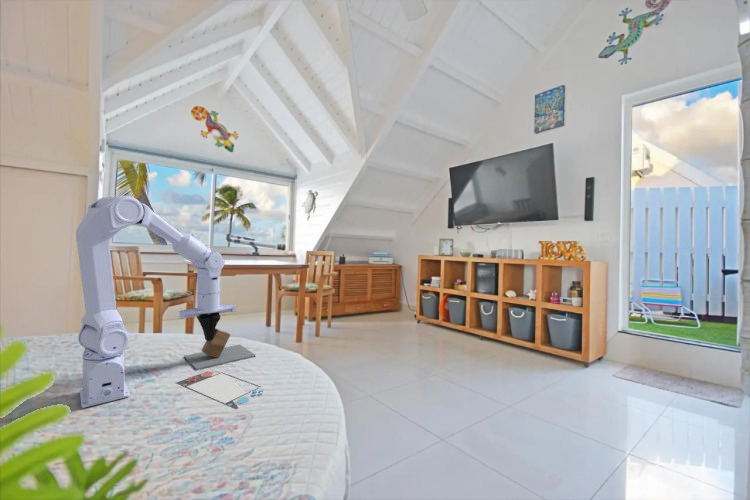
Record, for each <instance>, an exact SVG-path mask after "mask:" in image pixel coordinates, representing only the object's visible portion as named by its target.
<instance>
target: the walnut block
mask: <svg viewBox="0 0 750 500" xmlns="http://www.w3.org/2000/svg"><path fill="white" fill-rule="evenodd" d="M230 336H231V333H229V332H228V331H225V330H222V329H220V328H216V327H215V330H214V333H213V336H212V340H210V341H206V340H205V343H204V345H203V346H202V348H201V351H200V352H204V353H205V354H206V355H210V356H213V357H217V358H219V357H220V355H221V353H222V351H223V349H224V348H225V347H226V344H227V343H228V341H229V339H230V338H231V337H230Z"/></svg>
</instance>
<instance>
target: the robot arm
mask: <svg viewBox="0 0 750 500" xmlns="http://www.w3.org/2000/svg"><path fill="white" fill-rule="evenodd" d="M130 226H136V227H137V226H138V227H143V228H146V229H147V230H149V231H150V232H153V234H155V235H157V236H159V237H160V238H162V239H164V240H166V241H167V242H168V243H170V244H171V245H172V246H171V247H172V250H173V251H174V252H175V253H176V254H178V255H179V256H182V257H183V258H185V259H186V260H188V261H189V262H190V263H192V265H193V267H194V268H195V269H196V270H197V271H196V272H197V276H196V277H197V278H196V279H197V280H196V281H197V283H196V285H197V292H196V294H197V295H196V297H197V298H196V299H197V302H196V303H197V304H196V305H197V306H196V307H193V308H188V309H184V310H183V309H182V310H179V311H178V318H179V319H180V320H184V319H187V318H196V319H197V321H198V322H199V324H200V327H201V329H202V331H203V335H204V339H205V342H206V341H210V340H212V336H213V333H214V330H215V328H216V327H217V326H218V323H219V321H220V320H221V315H220V314H225V313H230V312H231V313H236V310H237V309H236V306H237V305H236V304H221V303H220V302H221V299H220V298H221V297H220V295H221V293H220V291H221V286H220V285H221V280H220V279H221V275H222V270H223V268H224V266H225V263H226V260H224V258H223V256H222V254H221V253H220V252H219V251H217V250H216V251H215V250H212V249H211V246H209V245H207V244H204V243H203V242H201V241H200V240H199V239H198V236H197V235H196V234H195V233H192V234H191V233H181V232H180V231H178V230H177V229H176V227H175V228H174V226H172V225H171V224H170V223H168V222H167V221H166V220H165V219H163V218H162V217H161V216H159V214H157V213H156V212H154V211H153V209H151V208H150V207H149V205H147V204H145V203H143V202H142V203H141V202H140V201H139V200H138V199H137V198H135V197H133V196H131V195H121V196H104V197H101V198H99V199H97V200H96V201H94V202H92V203H91V204H89V205H88V207H87V212H86V213H85V215H84V217H83V219H82V220H81V222H80V223H79V224H78V227H77V228H76V231H75V237H76V238H75V239H76V246H77V253H78V254H77V255H78V260H79V261H78V262H79V263H78V264H79V270H80V276H81V277H80V278H81V286H82V293H83V301H84V309H85V310H84V311H85V313H84V316H82V318H81V328H80V331H79V333H78V335H77V340H78V343H79V344H80V346H82V347H83V348H84V350H83V352H82V389H80V390H79V394H80V395H79V396H80V397H79V398H80V405H81V408H82V409H85V408H89V407H92V406H97V405H101V404H104V403H105V404H106V403H108V402H112V401H117V400H121V399H124V398H128V397H130V396H131V393H130V390H129V388H128V386H127V383H126V376H125V367H126V365H125V362H126V361H125V350H126V349H127V348H128V346H129V343H130V341H131V340H130V339H131V336H130V333H129V331H127V329H126V328H125V325H124V321H123V318H122V316H121V315H120V313H119V312H118V310H117V302H116V292H115V284H114V277H113V268H112V259H111V257H112V256H111V248H110V239H112V238H113V237H114V236H115V235H116V234H117V233H118V232H120V231H121V230H123V229H126V228H128V227H130Z"/></svg>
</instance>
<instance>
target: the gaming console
mask: <svg viewBox="0 0 750 500" xmlns="http://www.w3.org/2000/svg"><path fill="white" fill-rule="evenodd" d="M233 378H234V379H237V380H240V381H242V382H245V383H248V384H250V383H251V382H249V381H246V380H244V379H241V378H238V377H235V376H232V375H230V374H227V373H225V372H220V371H217V374H215V372H214V371H208V370H207V371H204V372H201V373H198V374H196V375H193V376H190V377H187V378H186V379H182V380H179V381H177V382H175V384H177V385H179V386H182V387H184V388H186V389H188V390H190V391H192V392H194V393H197V394H199V395H201V396H204V397H207V398H209V399H211V400H213V401H216V402H217V403H220V404H222V405H225V406H227V407H230V408H231V409H234V410H238V409H239V406H238V405H246V404H248V403H250V402H251V398H250V397H245V395H248V394H249V393H252V394H251V397H256V396H257V393H258V396H259V395H261V396H263V393H264V389H259V387H260V388H262V386H260V385H257V384H254V383H251V384H250V385H254V386H257V388H254V389H252V390H250V391H248V392H247V393H246V391H244V389H243V388H241V386H240V385H239V384H238V383H236V381H235V380H234V379H233ZM258 389H259V391H258ZM251 391H252V392H251ZM260 392H262V393H260Z"/></svg>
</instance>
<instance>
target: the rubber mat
mask: <svg viewBox="0 0 750 500" xmlns="http://www.w3.org/2000/svg"><path fill="white" fill-rule="evenodd" d="M255 357H256V354H254V353H253V352H252V351H251V350H249V349H247V348H246V347H244V346H243V345H241V344H236V345H235V344H234V345H232V346H231V345H230V346H225V347H224V349H223V351H222V353H221V355H220V357H219V358H217V357H213V356H210V355H206V354H205V353H204V352H202V351H200V352H197V353H195V352H194V353H192V354H186V355H184V358H185V359H186V360H187V362H188V363H189V364H190V365H191V366H192V368H194V369H195V370H196V371H200V370H204V369H207V368H208V369H209V368H212V367H216V366H220V365H221V366H222V365H225V364H229V363H233V362H238V361H242V360H246V359H249V358H250V359H251V358H255Z"/></svg>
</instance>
